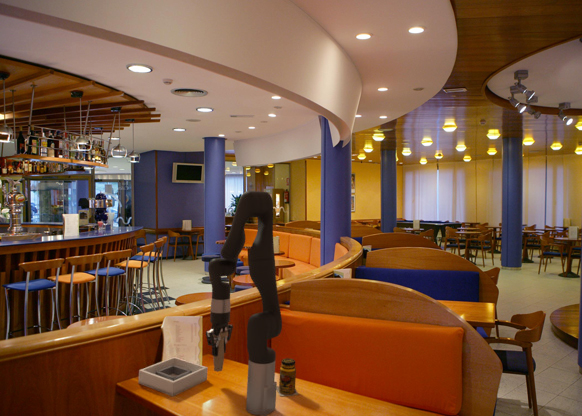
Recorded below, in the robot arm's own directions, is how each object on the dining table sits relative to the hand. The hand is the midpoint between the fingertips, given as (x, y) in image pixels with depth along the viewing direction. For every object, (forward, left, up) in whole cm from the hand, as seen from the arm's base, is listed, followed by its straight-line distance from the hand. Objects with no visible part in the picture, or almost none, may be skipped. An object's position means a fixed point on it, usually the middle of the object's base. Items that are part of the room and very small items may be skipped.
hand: (218, 354), depth 166 cm
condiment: (-25, -11, -12) cm, 29 cm away
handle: (0, 0, -7) cm, 7 cm away
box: (+14, +9, -11) cm, 20 cm away
